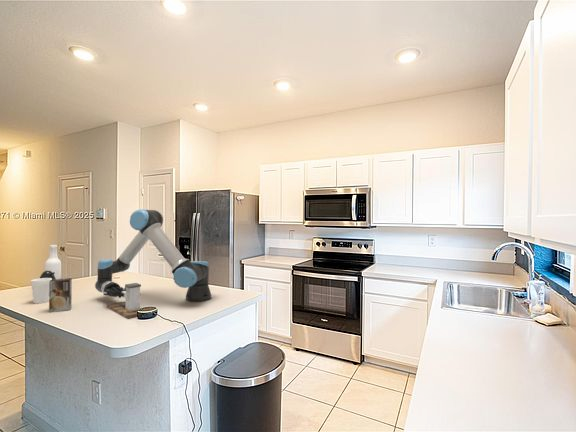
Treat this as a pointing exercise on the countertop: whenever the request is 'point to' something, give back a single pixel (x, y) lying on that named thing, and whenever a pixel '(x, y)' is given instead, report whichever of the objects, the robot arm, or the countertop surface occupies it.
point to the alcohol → (53, 262)
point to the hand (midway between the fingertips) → (128, 295)
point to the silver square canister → (132, 297)
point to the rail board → (122, 310)
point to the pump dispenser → (48, 275)
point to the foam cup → (40, 290)
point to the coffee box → (60, 294)
